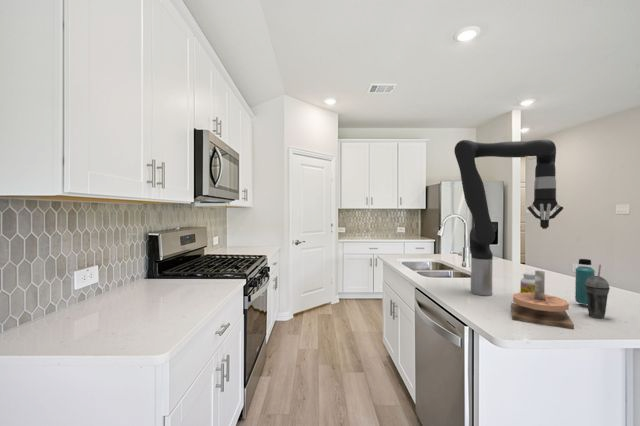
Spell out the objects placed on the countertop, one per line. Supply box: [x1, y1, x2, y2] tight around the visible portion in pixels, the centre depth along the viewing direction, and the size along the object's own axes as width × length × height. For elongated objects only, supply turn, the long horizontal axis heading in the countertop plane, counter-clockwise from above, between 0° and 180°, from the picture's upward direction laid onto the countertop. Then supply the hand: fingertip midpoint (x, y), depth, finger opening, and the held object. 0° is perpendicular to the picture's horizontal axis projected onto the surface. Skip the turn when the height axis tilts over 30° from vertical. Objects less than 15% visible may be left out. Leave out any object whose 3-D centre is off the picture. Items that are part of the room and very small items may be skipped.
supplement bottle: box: [519, 272, 535, 293], centre depth 136 cm, size 7×7×13 cm
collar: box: [512, 292, 570, 311], centre depth 119 cm, size 17×17×2 cm
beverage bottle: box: [574, 258, 596, 306], centre depth 131 cm, size 6×7×20 cm
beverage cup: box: [585, 264, 610, 320], centre depth 119 cm, size 7×7×20 cm
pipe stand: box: [510, 270, 575, 330], centre depth 119 cm, size 18×18×18 cm
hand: (544, 228), depth 132 cm, fingers closed
